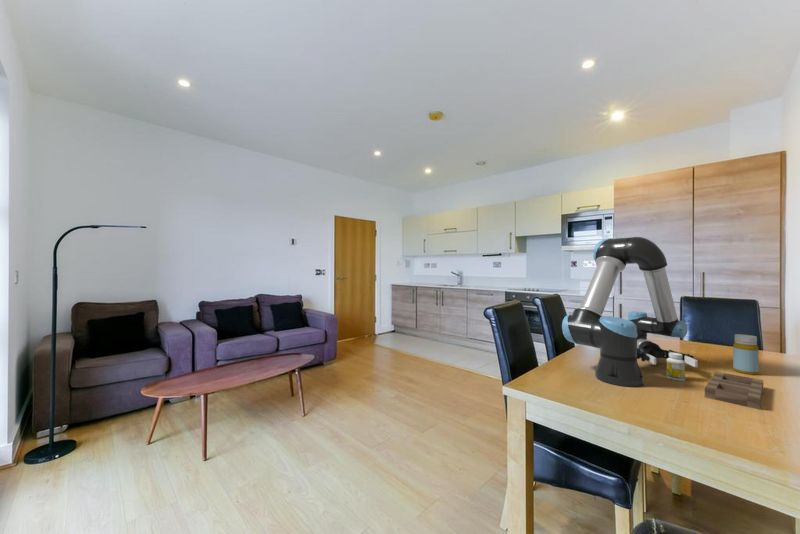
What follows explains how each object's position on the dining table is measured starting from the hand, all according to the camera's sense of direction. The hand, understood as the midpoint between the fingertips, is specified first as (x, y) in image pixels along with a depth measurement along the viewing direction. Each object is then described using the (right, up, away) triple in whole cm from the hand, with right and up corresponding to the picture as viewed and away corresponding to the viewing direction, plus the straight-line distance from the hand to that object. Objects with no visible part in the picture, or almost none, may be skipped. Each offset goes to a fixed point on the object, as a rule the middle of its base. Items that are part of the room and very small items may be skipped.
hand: (675, 362), depth 123 cm
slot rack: (+7, -6, -15) cm, 18 cm away
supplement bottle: (-1, -6, -1) cm, 6 cm away
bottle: (+34, -6, +6) cm, 35 cm away
